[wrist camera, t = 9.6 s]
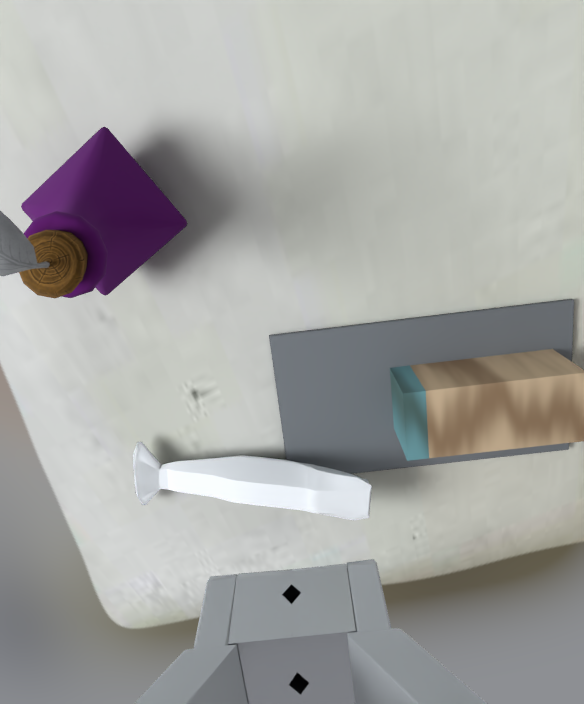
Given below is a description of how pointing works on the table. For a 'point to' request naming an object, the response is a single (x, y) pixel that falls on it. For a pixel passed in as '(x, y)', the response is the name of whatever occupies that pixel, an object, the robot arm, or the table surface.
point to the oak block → (487, 404)
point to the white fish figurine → (256, 483)
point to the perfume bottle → (89, 223)
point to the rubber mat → (375, 384)
